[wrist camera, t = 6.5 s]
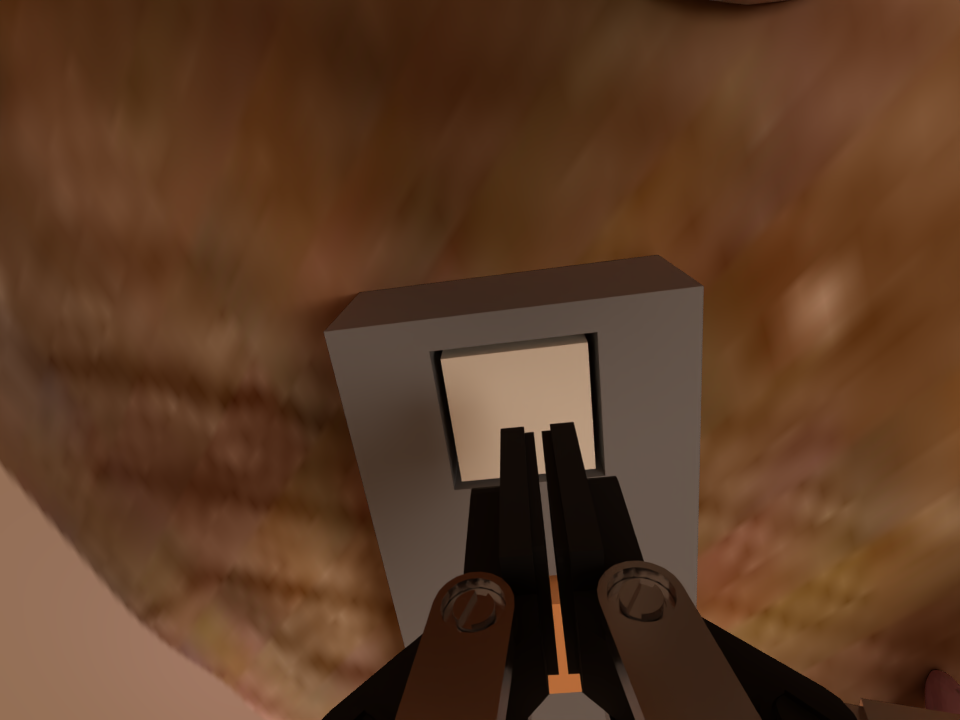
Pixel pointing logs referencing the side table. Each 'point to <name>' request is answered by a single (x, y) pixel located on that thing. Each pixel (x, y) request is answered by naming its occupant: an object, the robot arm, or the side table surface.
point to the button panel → (618, 452)
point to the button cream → (516, 397)
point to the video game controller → (942, 693)
